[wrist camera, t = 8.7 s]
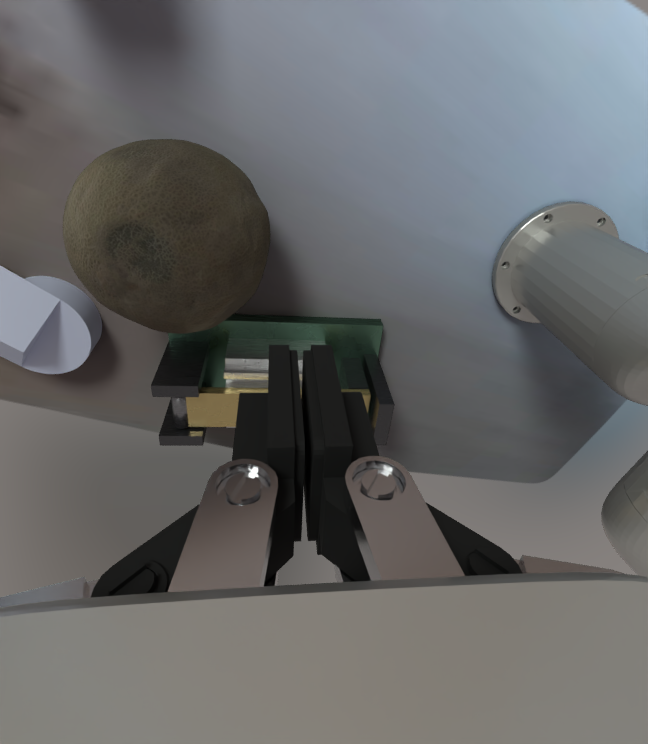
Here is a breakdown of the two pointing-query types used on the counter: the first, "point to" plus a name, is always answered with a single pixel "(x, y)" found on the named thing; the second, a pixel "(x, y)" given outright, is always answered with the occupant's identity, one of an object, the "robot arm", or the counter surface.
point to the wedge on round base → (46, 323)
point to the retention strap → (220, 406)
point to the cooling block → (251, 361)
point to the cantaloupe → (167, 234)
